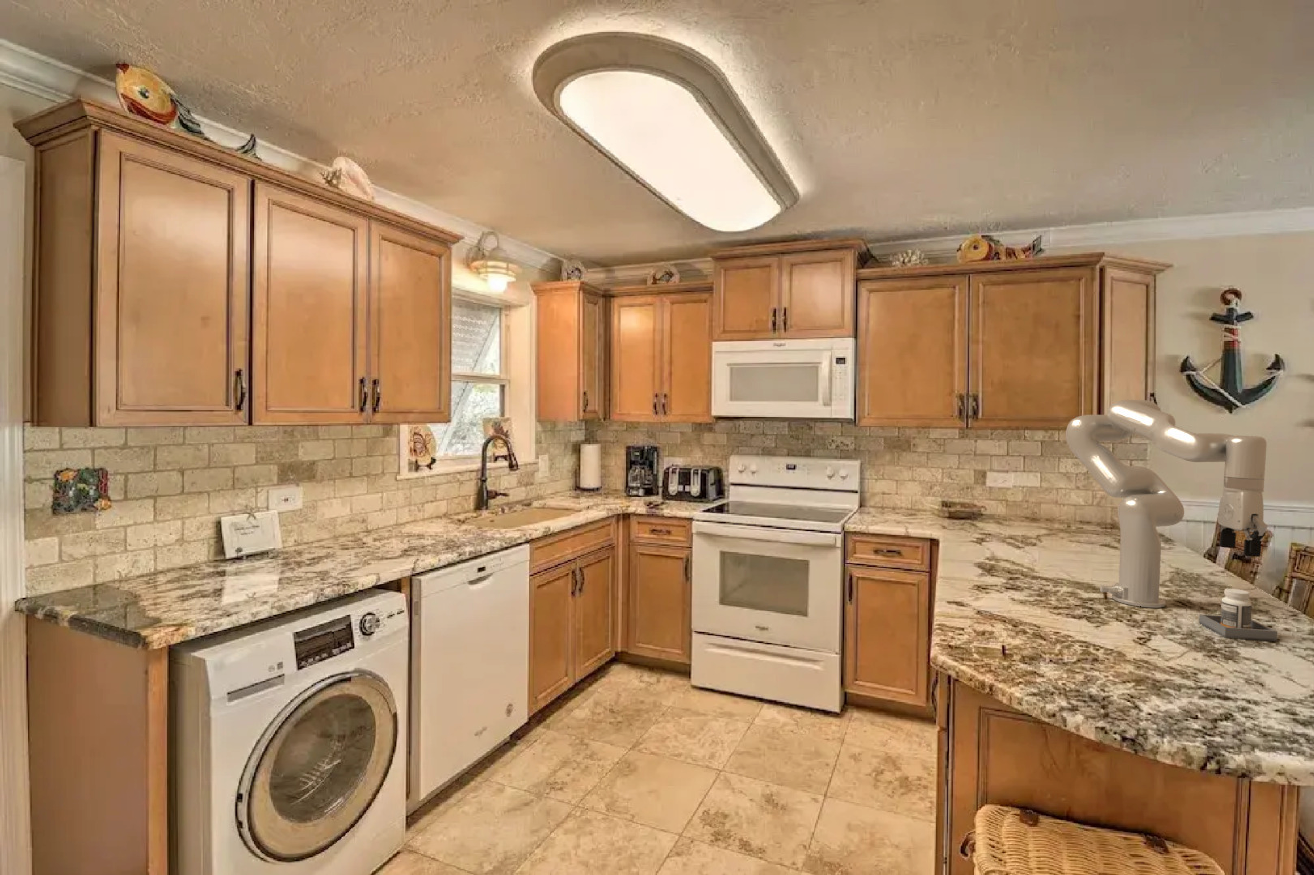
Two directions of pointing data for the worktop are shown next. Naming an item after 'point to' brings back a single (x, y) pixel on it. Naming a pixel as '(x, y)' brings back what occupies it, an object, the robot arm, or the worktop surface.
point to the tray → (1238, 629)
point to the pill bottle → (1236, 609)
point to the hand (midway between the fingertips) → (1239, 551)
